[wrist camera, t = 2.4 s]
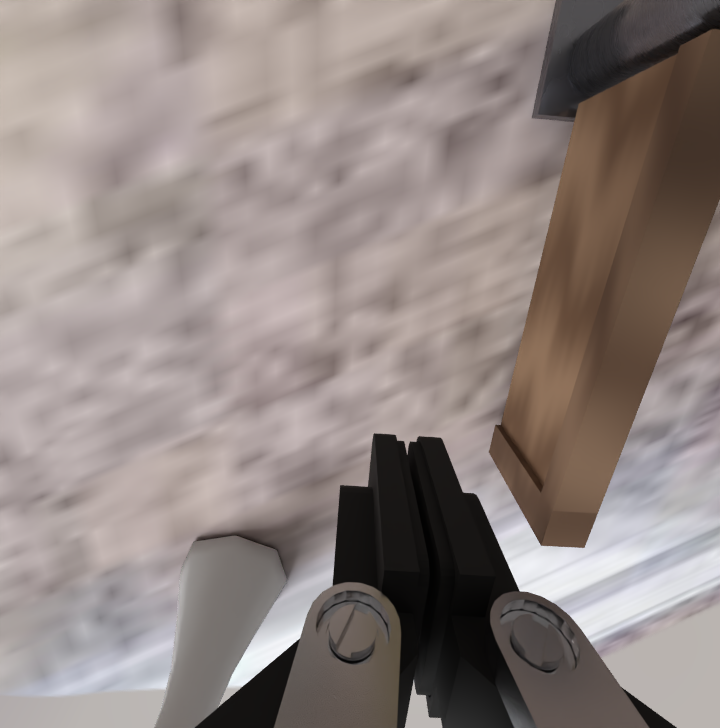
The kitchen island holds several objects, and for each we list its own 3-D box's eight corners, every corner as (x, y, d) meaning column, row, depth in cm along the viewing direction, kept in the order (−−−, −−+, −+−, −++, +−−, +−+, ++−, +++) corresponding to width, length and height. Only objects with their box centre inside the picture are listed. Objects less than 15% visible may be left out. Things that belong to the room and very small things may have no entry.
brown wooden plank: (571, 103, 15) (712, 28, 9) (614, 106, 15) (783, 35, 9) (489, 452, 21) (541, 545, 15) (520, 454, 21) (584, 547, 15)
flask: (180, 526, 25) (73, 715, 15) (291, 537, 25) (253, 728, 16) (184, 603, 27) (94, 804, 18) (284, 612, 28) (247, 813, 18)
